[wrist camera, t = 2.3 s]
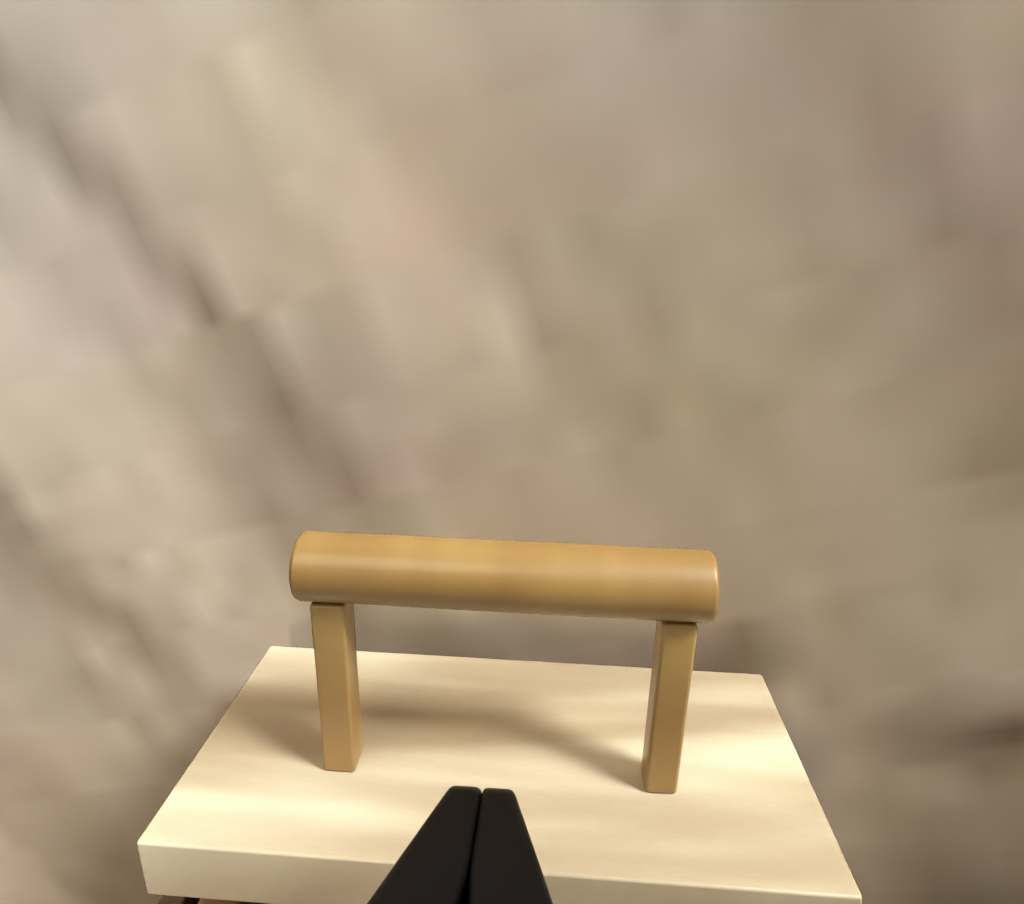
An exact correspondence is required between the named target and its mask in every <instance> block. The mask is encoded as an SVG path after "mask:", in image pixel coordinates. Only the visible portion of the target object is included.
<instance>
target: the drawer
mask: <svg viewBox="0 0 1024 904" xmlns="http://www.w3.org/2000/svg"><path fill="white" fill-rule="evenodd" d="M289 580H290V588H291V592H292V594H293V596H294V597H295V598H296V599H298V600H300V601H308V602H312V604H311V606H310V611H311V622H312V634H313V645H314V648H299V647H282V646H271V647H270V648H269V649H268V651H267V652H266V654H265V655H264V657H263V658H262V659H261V661H260V662H259V664H258V665H257V667H256V668H255V670H254V671H253V673H252V674H251V676H250V677H249V679H248V680H247V681H246V683H245V684H244V686H243V687H242V689H241V690H240V692H239V693H238V695H237V696H236V698H235V699H234V701H233V702H232V703H231V705H230V706H229V708H228V709H227V711H226V712H225V714H224V715H223V717H222V718H221V720H220V721H219V723H218V724H217V725H216V727H215V728H214V730H213V731H212V733H211V734H210V736H209V737H208V739H207V740H206V742H205V743H204V745H203V746H202V747H201V749H200V750H199V752H198V753H197V755H196V756H195V758H194V759H193V761H192V762H191V764H190V765H189V766H188V768H187V769H186V771H185V772H184V774H183V775H182V777H181V778H180V780H179V781H178V783H177V784H176V786H175V787H174V788H173V790H172V791H171V793H170V794H169V796H168V797H167V799H166V800H165V802H164V803H163V805H162V806H161V808H160V809H159V810H158V812H157V813H156V815H155V816H154V818H153V819H152V821H151V822H150V824H149V825H148V827H147V828H146V830H145V831H144V832H143V834H142V835H141V837H140V838H139V840H138V842H137V848H138V853H139V857H140V862H141V866H142V871H143V876H144V880H145V885H146V890H147V893H148V894H153V895H166V896H178V897H191V898H201V899H200V901H199V902H198V904H367V903H368V901H369V900H370V898H371V897H372V896H373V894H374V893H375V891H376V890H377V889H378V887H379V886H380V884H381V883H382V882H383V880H384V879H385V877H386V876H387V875H388V873H389V872H390V870H391V869H392V868H393V866H394V865H395V863H396V862H397V860H398V859H399V858H400V856H401V855H402V853H403V852H404V851H405V849H406V848H407V846H408V845H409V844H410V842H411V841H412V839H413V838H414V837H415V835H416V834H417V832H418V831H419V830H420V828H421V827H422V825H423V824H424V823H425V821H426V820H427V818H428V817H429V815H430V814H431V813H432V811H433V810H434V808H435V807H436V806H437V804H438V803H439V801H440V800H441V799H442V797H443V796H444V794H445V793H446V792H447V790H448V789H449V788H450V787H452V786H455V785H456V786H471V787H478V788H479V789H480V790H481V792H483V790H484V789H485V788H500V789H510V790H512V791H513V792H514V793H515V795H516V798H517V801H518V804H519V807H520V809H521V812H522V815H523V818H524V821H525V824H526V827H527V830H528V832H529V835H530V838H531V841H532V844H533V847H534V850H535V853H536V855H537V858H538V861H539V864H540V867H541V870H542V873H543V876H544V878H545V881H546V884H547V887H548V890H549V893H550V896H551V899H552V901H553V904H861V902H862V896H861V893H860V891H859V889H858V887H857V885H856V882H855V880H854V878H853V876H852V873H851V871H850V869H849V867H848V865H847V862H846V860H845V858H844V856H843V854H842V851H841V849H840V847H839V845H838V843H837V840H836V838H835V836H834V834H833V832H832V829H831V827H830V825H829V823H828V821H827V818H826V816H825V814H824V812H823V809H822V807H821V805H820V803H819V801H818V798H817V796H816V794H815V792H814V790H813V787H812V785H811V783H810V781H809V779H808V776H807V774H806V772H805V770H804V768H803V765H802V763H801V761H800V759H799V757H798V754H797V752H796V750H795V748H794V745H793V743H792V741H791V739H790V737H789V734H788V732H787V730H786V728H785V726H784V723H783V721H782V719H781V717H780V715H779V712H778V710H777V708H776V706H775V704H774V701H773V699H772V697H771V695H770V693H769V690H768V688H767V686H766V684H765V681H764V679H763V677H762V675H760V674H743V673H725V672H708V671H692V670H693V662H694V654H695V647H696V639H697V631H698V627H697V624H696V623H710V622H712V621H713V620H714V619H715V616H716V613H717V610H718V605H719V597H720V578H719V570H718V565H717V562H716V559H715V556H714V554H713V553H712V552H710V551H708V550H695V549H674V548H654V547H633V546H613V545H592V544H572V543H551V542H531V541H510V540H490V539H469V538H449V537H428V536H407V535H387V534H366V533H346V532H325V531H306V532H303V533H302V534H300V535H299V537H298V538H297V540H296V542H295V545H294V548H293V551H292V555H291V560H290V568H289ZM353 604H363V605H381V606H399V607H418V608H436V609H454V610H473V611H491V612H509V613H528V614H546V615H564V616H582V617H601V618H619V619H637V620H656V621H657V624H656V633H655V643H654V652H653V661H652V668H640V667H623V666H606V665H589V664H572V663H555V662H538V661H521V660H504V659H486V658H469V657H452V656H435V655H418V654H401V653H384V652H367V651H356V637H355V622H354V606H353Z"/></svg>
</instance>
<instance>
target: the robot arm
mask: <svg viewBox="0 0 1024 904" xmlns="http://www.w3.org/2000/svg"><path fill="white" fill-rule="evenodd" d="M367 904H553V901H552V899H551V896H550V893H549V890H548V887H547V884H546V881H545V878H544V876H543V873H542V870H541V867H540V864H539V861H538V858H537V855H536V853H535V850H534V847H533V844H532V841H531V838H530V835H529V832H528V830H527V827H526V824H525V821H524V818H523V815H522V812H521V809H520V807H519V804H518V801H517V798H516V795H515V793H514V792H513V791H512V790H510V789H500V788H485V789H484V790H483V792H481V790H480V789H479V788H478V787H471V786H456V785H455V786H452V787H450V788H449V789H448V790H447V792H446V793H445V794H444V796H443V797H442V799H441V800H440V801H439V803H438V804H437V806H436V807H435V808H434V810H433V811H432V813H431V814H430V815H429V817H428V818H427V820H426V821H425V823H424V824H423V825H422V827H421V828H420V830H419V831H418V832H417V834H416V835H415V837H414V838H413V839H412V841H411V842H410V844H409V845H408V846H407V848H406V849H405V851H404V852H403V853H402V855H401V856H400V858H399V859H398V860H397V862H396V863H395V865H394V866H393V868H392V869H391V870H390V872H389V873H388V875H387V876H386V877H385V879H384V880H383V882H382V883H381V884H380V886H379V887H378V889H377V890H376V891H375V893H374V894H373V896H372V897H371V898H370V900H369V901H368V903H367Z"/></svg>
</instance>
